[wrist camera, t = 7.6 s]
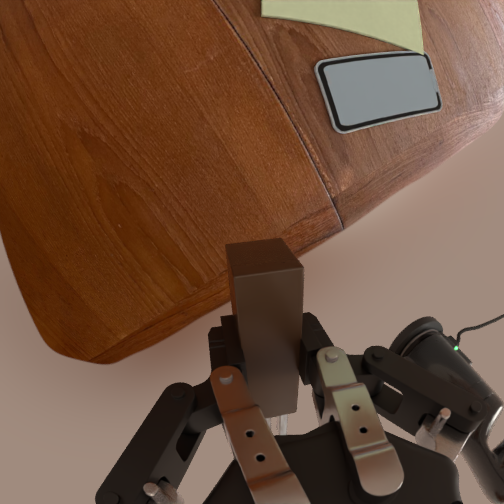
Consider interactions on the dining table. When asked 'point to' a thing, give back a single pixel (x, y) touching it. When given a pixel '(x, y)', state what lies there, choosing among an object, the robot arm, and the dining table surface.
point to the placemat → (356, 18)
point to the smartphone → (377, 88)
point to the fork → (268, 322)
